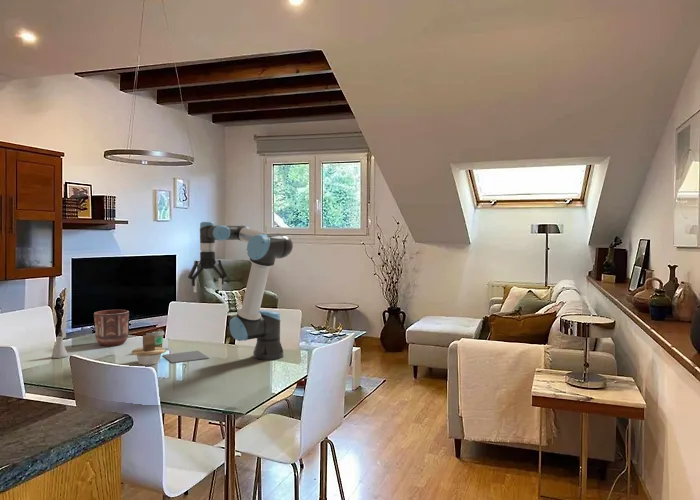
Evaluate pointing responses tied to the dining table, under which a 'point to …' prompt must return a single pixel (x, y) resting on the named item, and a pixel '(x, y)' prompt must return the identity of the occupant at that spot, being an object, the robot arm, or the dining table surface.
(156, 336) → the food container
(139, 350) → the oak lid
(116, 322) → the pottery
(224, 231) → the robot arm
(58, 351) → the flask
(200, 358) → the rubber mat
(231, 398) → the dining table surface
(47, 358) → the dining table surface
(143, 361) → the ramekin
